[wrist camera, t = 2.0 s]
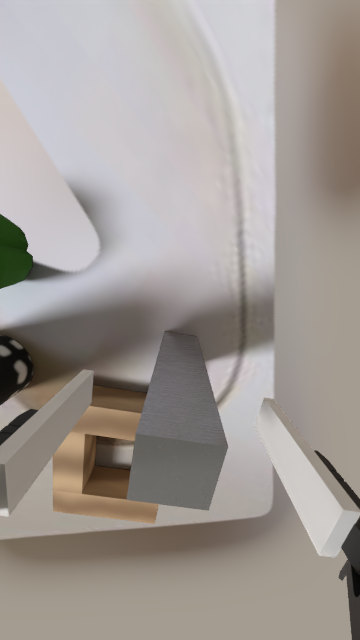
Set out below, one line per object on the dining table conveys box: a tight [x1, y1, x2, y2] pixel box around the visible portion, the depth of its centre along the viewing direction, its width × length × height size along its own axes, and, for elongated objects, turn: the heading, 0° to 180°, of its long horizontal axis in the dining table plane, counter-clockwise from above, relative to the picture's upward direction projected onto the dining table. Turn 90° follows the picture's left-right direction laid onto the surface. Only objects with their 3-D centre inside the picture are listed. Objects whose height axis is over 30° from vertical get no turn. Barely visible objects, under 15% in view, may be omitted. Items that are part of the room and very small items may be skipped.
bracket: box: [127, 331, 228, 510], centre depth 15 cm, size 7×4×14 cm, turn 170°
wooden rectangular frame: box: [53, 385, 159, 524], centre depth 23 cm, size 18×14×4 cm
